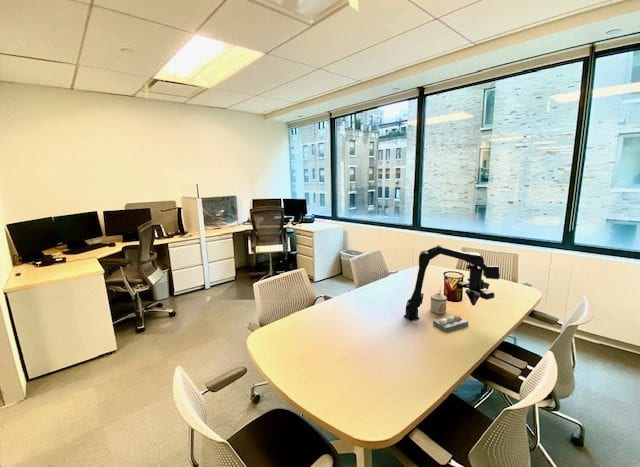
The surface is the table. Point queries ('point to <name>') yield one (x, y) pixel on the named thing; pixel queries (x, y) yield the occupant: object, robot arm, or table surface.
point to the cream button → (443, 321)
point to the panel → (450, 324)
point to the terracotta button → (457, 317)
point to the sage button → (450, 319)
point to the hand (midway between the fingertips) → (473, 305)
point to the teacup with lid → (438, 303)
